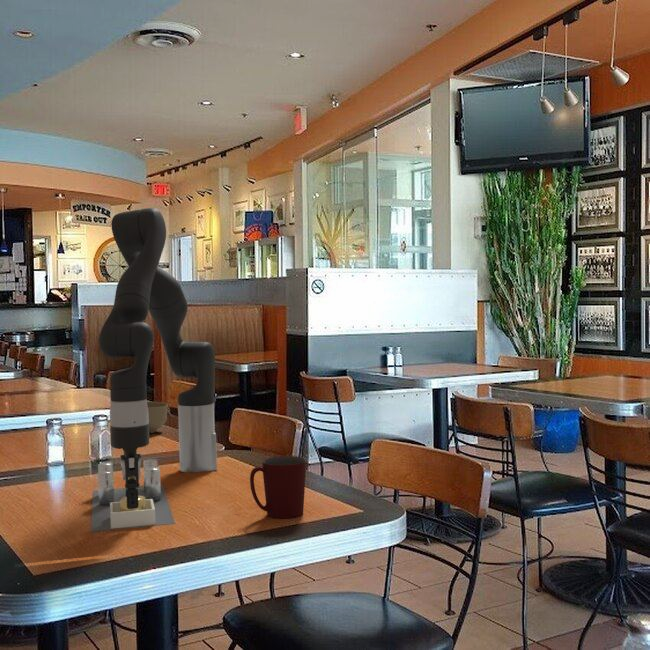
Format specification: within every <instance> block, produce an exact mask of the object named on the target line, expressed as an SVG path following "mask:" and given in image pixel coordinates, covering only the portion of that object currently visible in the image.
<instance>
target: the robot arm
mask: <svg viewBox="0 0 650 650" xmlns="http://www.w3.org/2000/svg"><path fill="white" fill-rule="evenodd" d="M110 225H111V227H110V228H111V232H112V236H113V239H114V242H115V245H117V248H118V250H119V252H120V253H121V255H122V257H123V259H124V261H125V263H126V264H127V265H128V267H127V268H126V270H124V272H123V273H122V274H121V276H120V279H119V280H118V282H117V284H116V285H117V286H116V290H115V296H114V301H113V307H112V308H111V310H110V312H109V314H108V316H107V318H106V319H105V322H104V323H103V325H102V327H101V330H100V332H99V336H98V346H99V347H98V348H99V350H100V351H101V353H102V355H104V357H106V358H109V359H129V358H131V359H132V358H133V359H135V360H134V363H133V365H132V366H131V367H127V368H124V369H117V370H115V371H113V372H112V373H111V374H110V376H109V389H110V390H109V391H110V394H109V395H110V404H109V405H110V406H109V430H110V432H109V433H110V446H111V447H112V448H113V449H116V450H117V449H118V450H122V451H123V454H119V455H120V457H119V459H120V466H121V473H122V479H123V481H124V483H125V484H124V488H125V489H126V496H127V508H128V509H135V508H138V506H139V505H138V489H139V487H141V486H140V485H141V484H140V480H139V479H140V478H141V475H142V474H141V473H142V472H141V465H142V456H141V453H137V450H138V449H139V448H144V447H146V446H148V445H150V433H149V415H148V405H147V401H148V399H147V398H148V397H147V392H148V391H147V376H148V375H147V374H148V366H149V363H150V358H151V356H152V355H151V354H152V351H153V347H154V343H155V333H154V330H153V329H152V327H151V326H150V325H149V324H148V323H147V322H144V321H145V320H146V319H147V317H148V314H150V316H151V318H152V320H153V322H154V324H155V326H156V329H157V331H158V333H159V336H160V338H161V341H162V344H163V347H164V350H165V354H166V356H167V360H168V363H169V366H170V368H171V370H172V372H173V374H174V375H175V376H177V377H179V378H189V379H190V378H193V379H194V378H196V384H195V385H194V386H193V387H191V388H188V389H187V390H184V391H181V392H179V393H178V395H177V411H178V412H177V414H178V415H177V416H178V417H177V418H178V420H177V421H178V450H179V451H178V453H179V471H180V472H181V473H200V472H210V471H211V472H212V471H218V463H217V462H218V457H217V433H216V431H215V429H216V428H215V390H216V389H215V387H216V386H215V385H216V384H215V382H216V379H215V378H216V377H215V376H216V373H215V372H216V353H215V348H214V345H212V344H211V343H210V342H207V341H184V340H183V339H182V336H181V333H180V331H181V328H182V326H183V323H184V321H185V319H186V316H187V313H188V308H189V307H188V301H187V299H186V296H185V294H184V291H183V289H182V287H181V286H182V285H181V284H180V282H179V281H178V280H177V279H176V277H174V276H173V275H172V274H171V273H169V272H168V271H167V270H165V269H164V268H162V267H160V266H159V264H160V260H161V257H162V255H163V251H164V248H165V244H166V238H167V226H166V221H165V219H164V216H163V214H162V213H161V211H160V210H159V209H158V208H154V207H150V208H149V207H146V208H140V209H133V210H127V211H123V212H119V213H117V214H115V215H114V216H113V217H112V220H111V224H110Z"/></svg>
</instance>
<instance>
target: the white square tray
mask: <svg viewBox="0 0 650 650" xmlns="http://www.w3.org/2000/svg"><path fill="white" fill-rule="evenodd" d="M145 509H146V510H135V511H124V512H121V502H111V503H110V519H111V529H112V528H123V527H134V526H144V525H155V507H154V503H153V499H146V500H145Z"/></svg>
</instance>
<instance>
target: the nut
mask: <svg viewBox="0 0 650 650" xmlns="http://www.w3.org/2000/svg"><path fill="white" fill-rule="evenodd" d="M138 505H139V506H138V508H135V509H128V508H127V496H126V497H123V498H121V512H124V511H135V510H146V509H145V497H144V496H139V495H138Z"/></svg>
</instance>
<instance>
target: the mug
mask: <svg viewBox="0 0 650 650" xmlns="http://www.w3.org/2000/svg"><path fill="white" fill-rule="evenodd" d="M261 463H262V466H255V467H254V468H252V470H251V472H250V474H249V485H250V490H251V495H252V498H253V499H254V502H255V504H256V505H257V506H258V507H259V508H260V510H263V511H264V512H266V513H267V514H266V515H267V516H268V517H271V518H274V519H292V518H298V517H301V516H302V515H303V514H304V506H305V505H304V504H305V492H306V491H305V489H306V470H307V469H306V464H307V463H306V459H305V458H303V457H301V456H293V455H292V456H291V455H290V456H289V455H284V456H282V455H281V456H273V457H267V458H265V459H263V460H262V462H261ZM257 472H262V477H263V487H264V488H263V489H264V496H265V498H264V499H265V505H263V504H262V503H261V501H260V500H259V497H258V495H257V492H256V488H255V474H256V473H257Z"/></svg>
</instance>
